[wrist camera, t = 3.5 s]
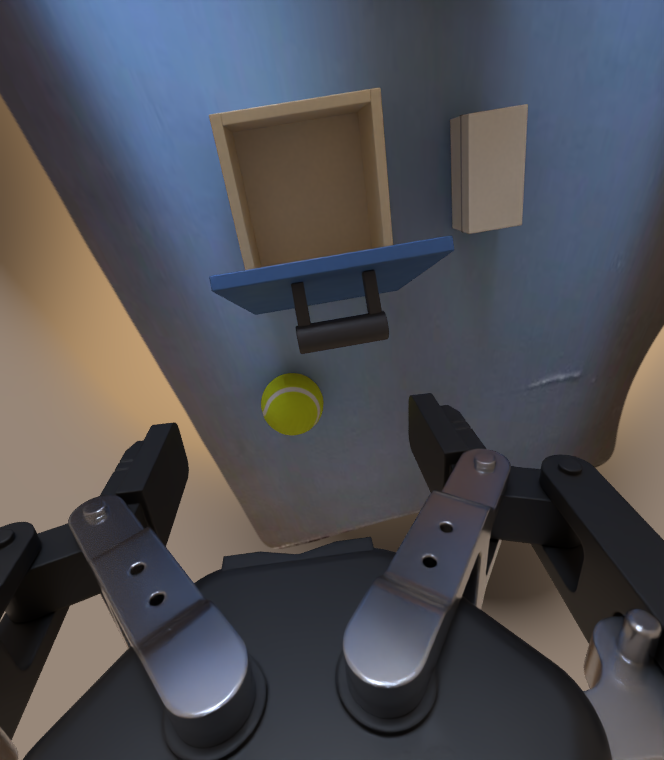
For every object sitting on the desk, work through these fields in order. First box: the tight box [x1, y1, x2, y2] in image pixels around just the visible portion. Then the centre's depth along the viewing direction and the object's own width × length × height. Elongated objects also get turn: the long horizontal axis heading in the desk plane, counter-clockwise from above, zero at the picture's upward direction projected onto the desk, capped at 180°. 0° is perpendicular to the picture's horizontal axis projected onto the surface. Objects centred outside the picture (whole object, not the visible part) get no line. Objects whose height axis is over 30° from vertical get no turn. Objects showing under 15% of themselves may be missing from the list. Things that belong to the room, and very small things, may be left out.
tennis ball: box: [261, 373, 323, 435], centre depth 47 cm, size 7×7×7 cm
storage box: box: [209, 88, 393, 270], centre depth 38 cm, size 15×13×7 cm
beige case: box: [450, 104, 528, 234], centre depth 39 cm, size 10×5×4 cm, turn 8°
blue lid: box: [209, 235, 454, 354], centre depth 30 cm, size 15×13×5 cm
